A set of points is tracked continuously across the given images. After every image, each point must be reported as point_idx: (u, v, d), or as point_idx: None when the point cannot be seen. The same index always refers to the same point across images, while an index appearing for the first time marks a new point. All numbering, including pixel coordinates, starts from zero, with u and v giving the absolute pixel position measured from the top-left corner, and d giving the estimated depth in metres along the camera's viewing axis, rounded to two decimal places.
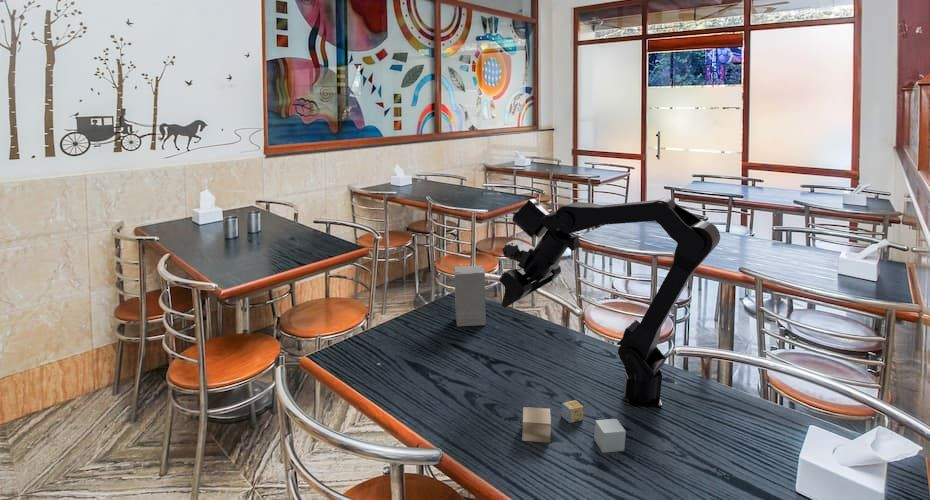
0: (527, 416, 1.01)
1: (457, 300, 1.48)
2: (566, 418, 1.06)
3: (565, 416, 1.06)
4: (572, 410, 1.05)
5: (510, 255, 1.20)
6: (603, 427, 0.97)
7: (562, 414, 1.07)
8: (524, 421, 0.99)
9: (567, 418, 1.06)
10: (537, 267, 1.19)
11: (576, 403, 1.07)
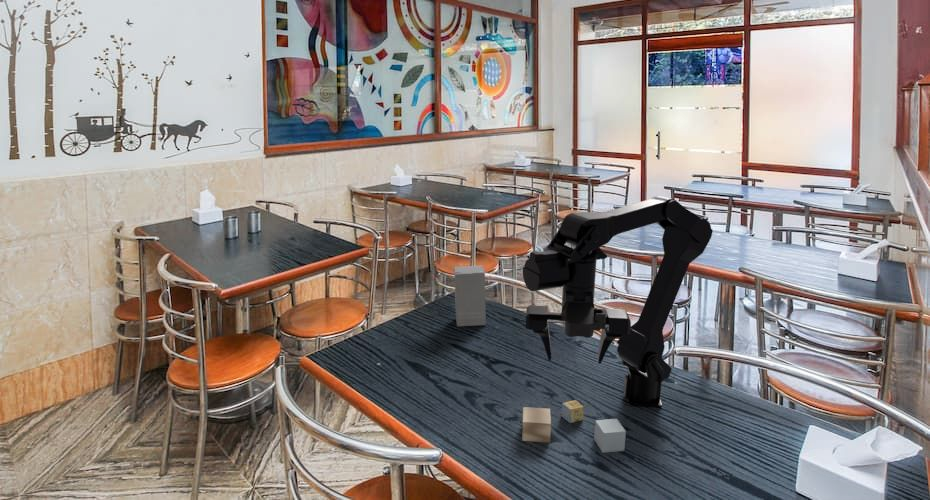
0: (527, 416, 1.01)
1: (457, 300, 1.48)
2: (566, 418, 1.06)
3: (565, 416, 1.06)
4: (572, 410, 1.05)
5: None
6: (603, 427, 0.97)
7: (562, 414, 1.07)
8: (524, 421, 0.99)
9: (567, 418, 1.06)
10: None
11: (576, 403, 1.07)
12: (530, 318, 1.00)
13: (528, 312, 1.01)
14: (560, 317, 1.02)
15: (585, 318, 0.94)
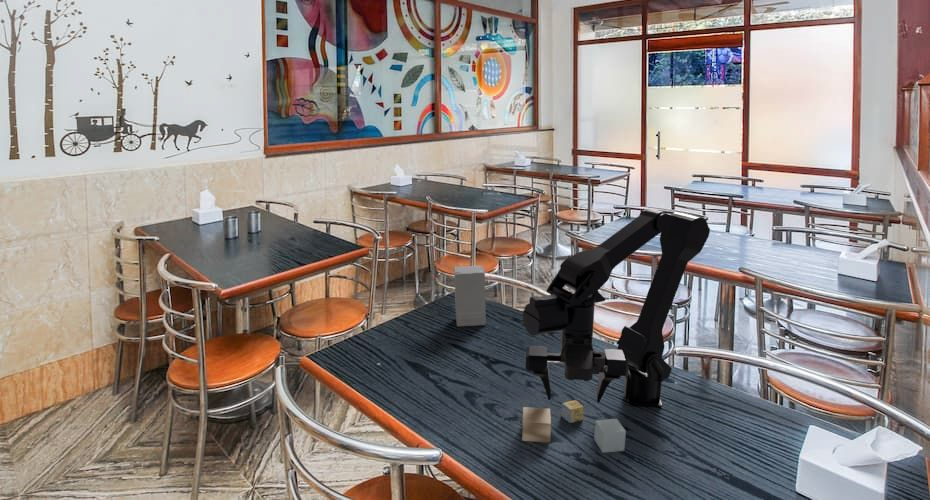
0: (527, 416, 1.01)
1: (457, 300, 1.48)
2: (566, 418, 1.06)
3: (565, 416, 1.06)
4: (572, 410, 1.05)
5: None
6: (603, 427, 0.97)
7: (562, 414, 1.07)
8: (524, 421, 0.99)
9: (567, 418, 1.06)
10: None
11: (576, 403, 1.07)
12: (530, 360, 1.02)
13: (528, 353, 1.03)
14: (559, 358, 1.04)
15: (584, 362, 0.96)
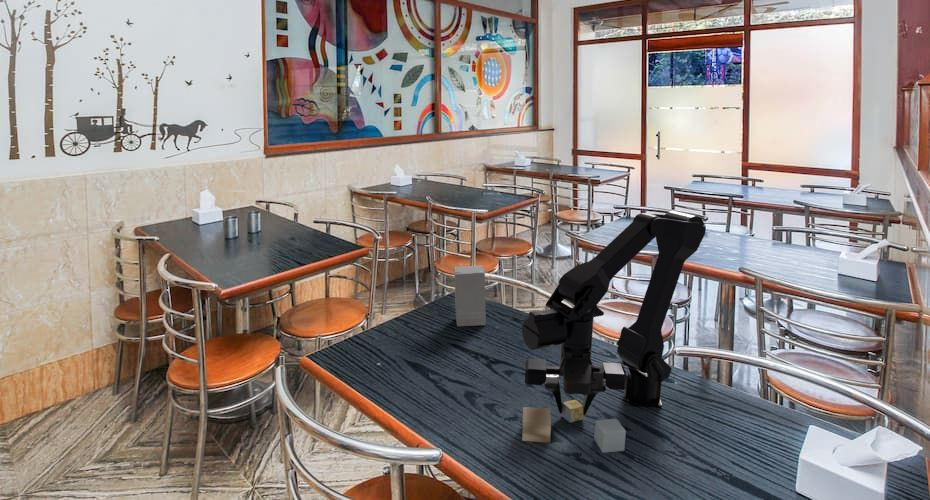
0: (527, 416, 1.01)
1: (457, 300, 1.48)
2: (566, 418, 1.06)
3: (565, 416, 1.06)
4: (572, 410, 1.05)
5: None
6: (603, 427, 0.97)
7: (562, 414, 1.07)
8: (524, 421, 0.99)
9: (567, 417, 1.06)
10: None
11: (576, 402, 1.07)
12: (529, 373, 1.03)
13: (527, 367, 1.04)
14: (558, 371, 1.04)
15: (583, 376, 0.97)
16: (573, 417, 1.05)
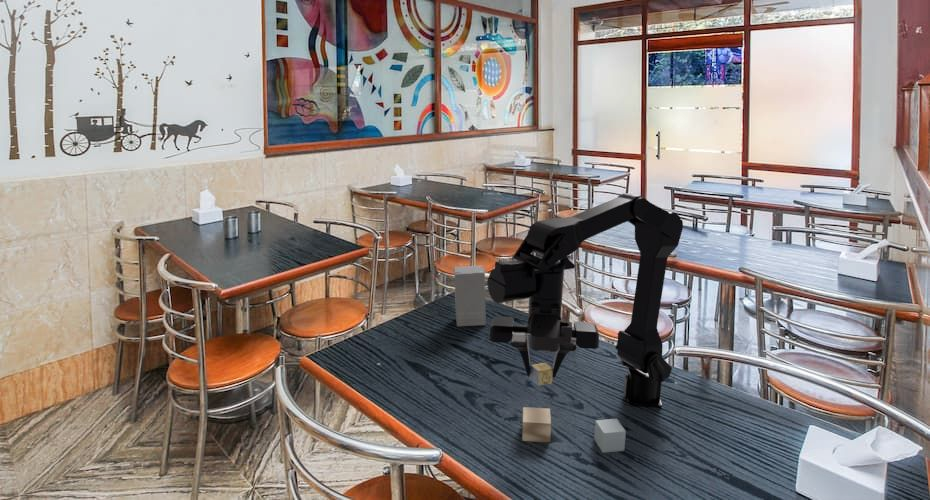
0: (527, 416, 1.01)
1: (457, 300, 1.48)
2: (534, 381, 0.99)
3: (533, 379, 0.99)
4: (540, 372, 0.98)
5: None
6: (603, 427, 0.97)
7: (530, 377, 1.00)
8: (524, 421, 0.99)
9: (535, 380, 0.99)
10: None
11: (545, 365, 1.00)
12: (494, 330, 0.95)
13: (493, 324, 0.97)
14: (526, 329, 0.97)
15: (550, 331, 0.90)
16: (541, 380, 0.98)
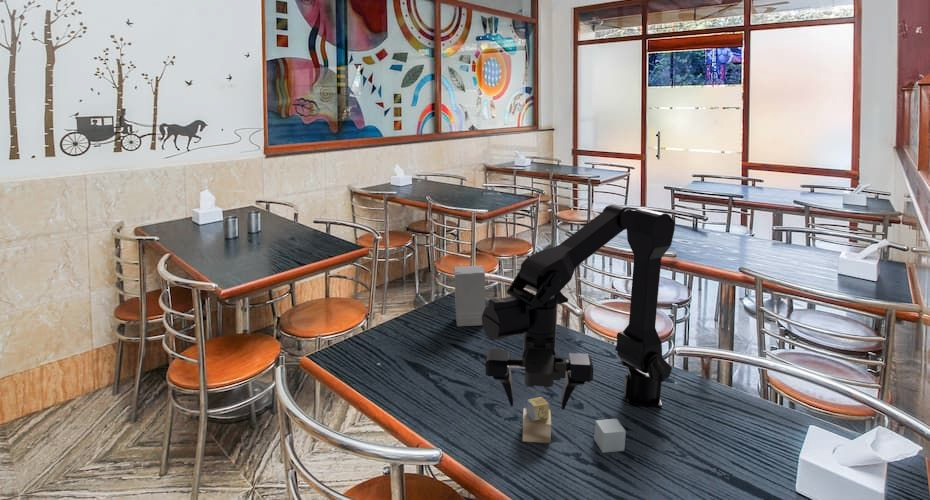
0: (527, 417, 1.01)
1: (457, 300, 1.48)
2: (530, 416, 1.00)
3: (529, 413, 1.00)
4: (536, 407, 0.99)
5: None
6: (603, 427, 0.97)
7: (527, 411, 1.01)
8: (524, 422, 0.99)
9: (531, 415, 1.00)
10: None
11: (541, 400, 1.01)
12: (490, 364, 0.97)
13: (488, 358, 0.98)
14: (521, 362, 0.98)
15: (545, 367, 0.91)
16: (537, 415, 0.99)
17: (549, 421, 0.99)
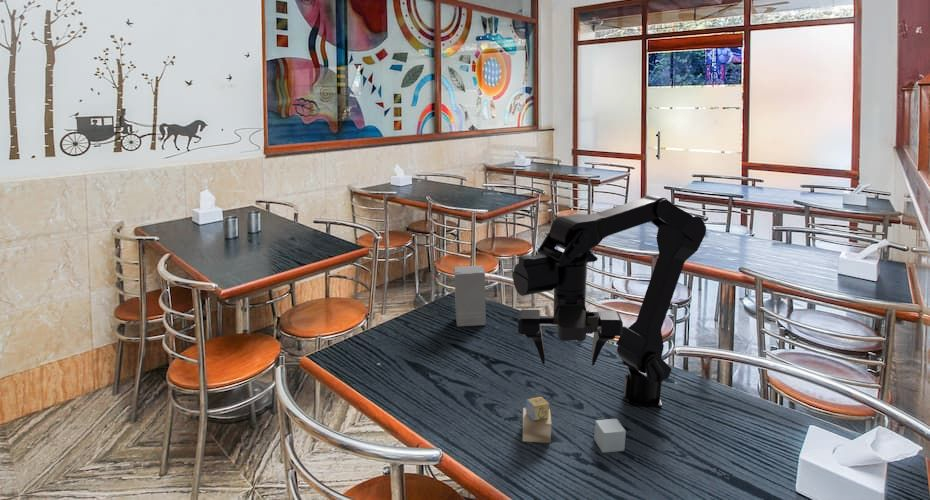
0: (527, 416, 1.01)
1: (457, 300, 1.48)
2: (530, 415, 1.00)
3: (529, 413, 1.00)
4: (536, 407, 0.99)
5: None
6: (603, 427, 0.97)
7: (527, 411, 1.01)
8: (524, 422, 0.99)
9: (531, 415, 1.00)
10: None
11: (541, 400, 1.01)
12: (522, 323, 1.00)
13: (520, 317, 1.01)
14: (552, 320, 1.02)
15: (577, 322, 0.94)
16: (537, 415, 0.99)
17: (549, 421, 0.99)
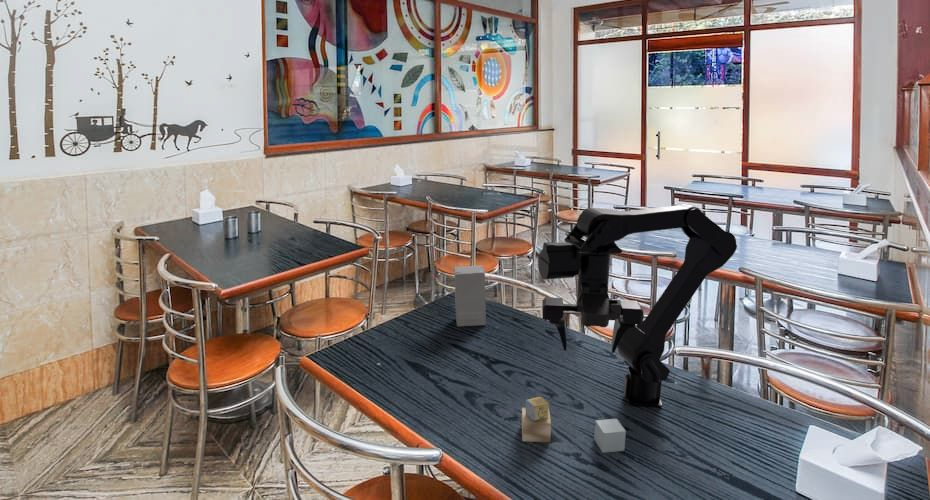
0: (527, 416, 1.01)
1: (457, 300, 1.48)
2: (530, 416, 1.00)
3: (529, 413, 1.00)
4: (536, 407, 0.99)
5: None
6: (603, 427, 0.97)
7: (526, 411, 1.01)
8: (524, 422, 0.99)
9: (531, 415, 1.00)
10: None
11: (541, 400, 1.01)
12: (547, 309, 1.04)
13: (545, 304, 1.06)
14: (575, 308, 1.06)
15: (601, 308, 0.98)
16: (537, 415, 0.99)
17: (549, 420, 1.00)
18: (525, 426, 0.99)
